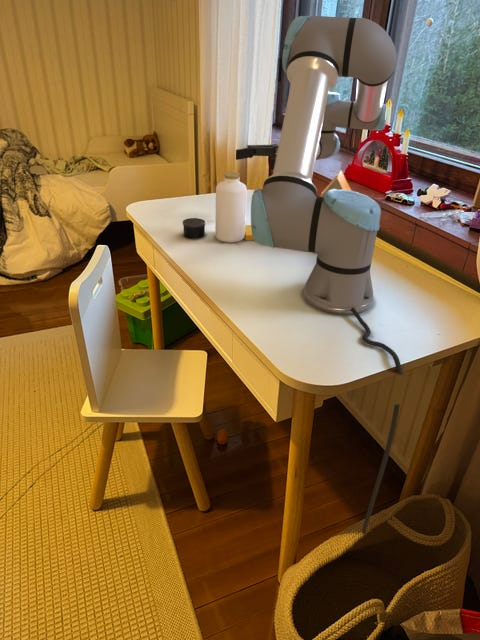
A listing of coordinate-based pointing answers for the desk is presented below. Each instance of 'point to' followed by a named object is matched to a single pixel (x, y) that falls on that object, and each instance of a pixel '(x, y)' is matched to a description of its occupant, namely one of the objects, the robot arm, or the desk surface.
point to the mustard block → (248, 233)
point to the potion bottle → (230, 208)
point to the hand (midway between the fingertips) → (253, 159)
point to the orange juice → (337, 184)
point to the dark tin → (194, 228)
